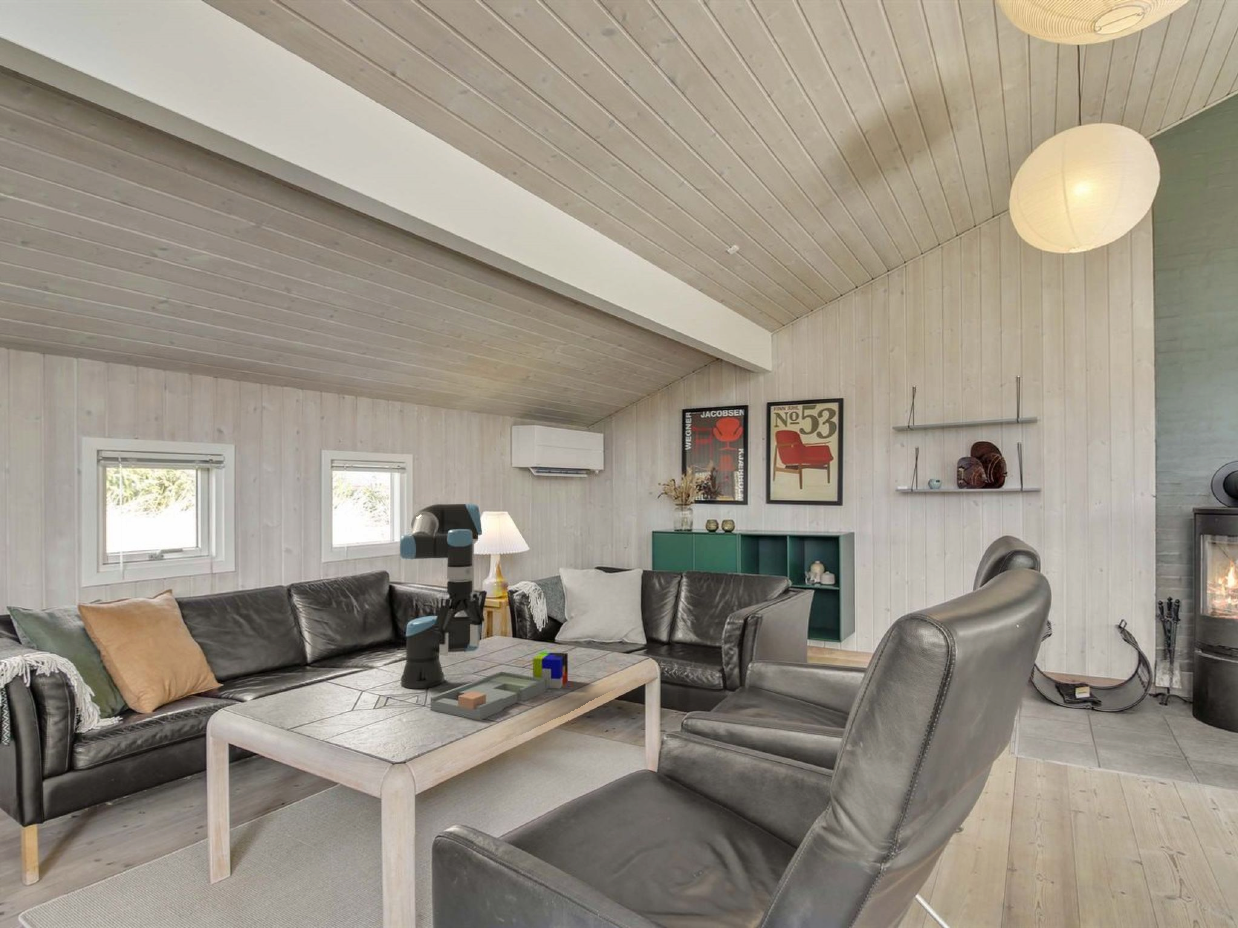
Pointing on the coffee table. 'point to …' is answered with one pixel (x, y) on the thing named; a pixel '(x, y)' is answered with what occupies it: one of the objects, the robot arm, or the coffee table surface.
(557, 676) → the puzzle toy
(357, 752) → the coffee table surface
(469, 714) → the trap box
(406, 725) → the coffee table surface
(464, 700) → the block
